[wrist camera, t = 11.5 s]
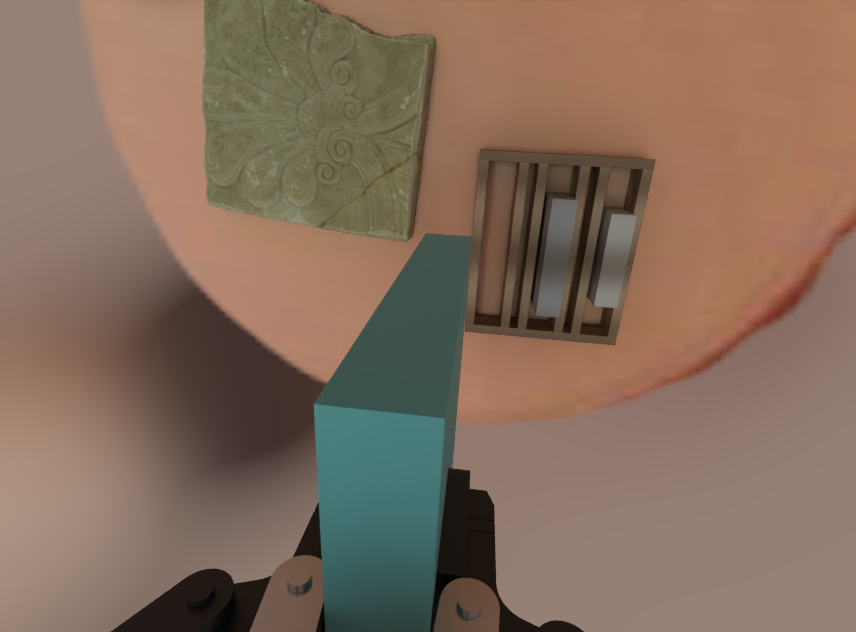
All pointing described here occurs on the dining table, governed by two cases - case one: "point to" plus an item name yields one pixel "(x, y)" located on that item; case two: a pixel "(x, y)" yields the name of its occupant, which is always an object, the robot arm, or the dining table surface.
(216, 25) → the decorative tile
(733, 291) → the dining table surface
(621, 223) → the offcut short
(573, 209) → the offcut tall
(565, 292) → the rack
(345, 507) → the teal sheet
